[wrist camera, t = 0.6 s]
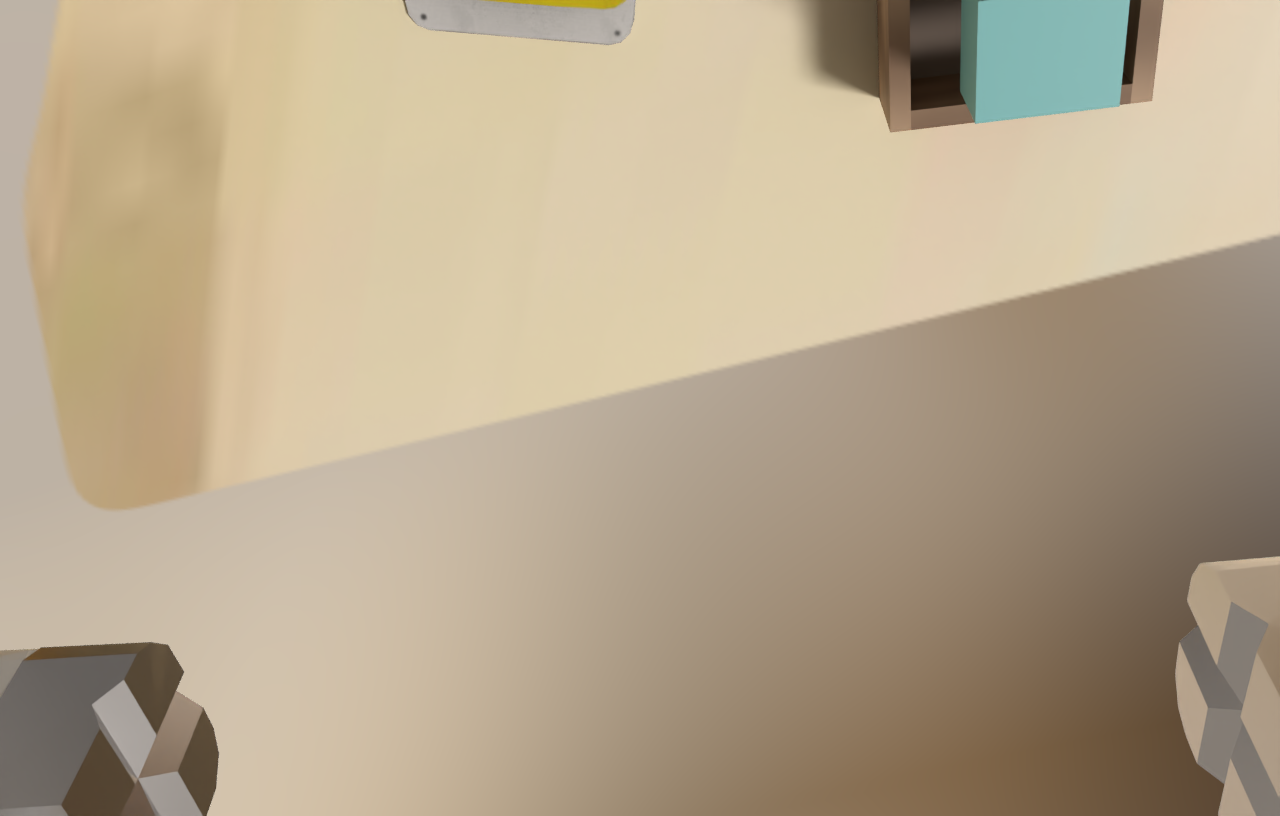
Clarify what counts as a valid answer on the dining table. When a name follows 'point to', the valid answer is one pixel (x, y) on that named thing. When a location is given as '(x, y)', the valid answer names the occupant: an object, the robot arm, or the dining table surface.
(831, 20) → the dining table surface
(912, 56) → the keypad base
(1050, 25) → the teal block
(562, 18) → the emergency button
